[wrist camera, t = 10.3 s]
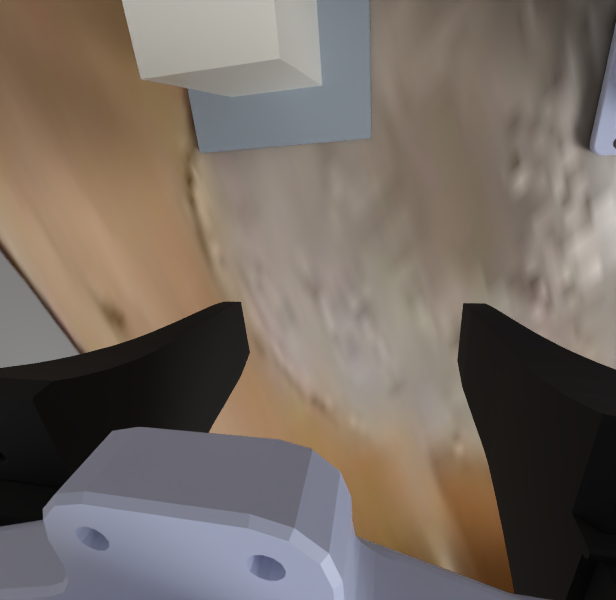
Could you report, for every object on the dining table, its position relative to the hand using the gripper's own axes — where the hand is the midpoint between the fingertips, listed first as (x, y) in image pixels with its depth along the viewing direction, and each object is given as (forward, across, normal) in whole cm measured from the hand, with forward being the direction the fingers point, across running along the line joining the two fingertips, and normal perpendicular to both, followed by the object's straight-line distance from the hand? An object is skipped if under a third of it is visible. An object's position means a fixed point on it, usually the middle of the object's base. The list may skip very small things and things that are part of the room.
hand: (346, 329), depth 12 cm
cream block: (+9, +4, -10) cm, 14 cm away
